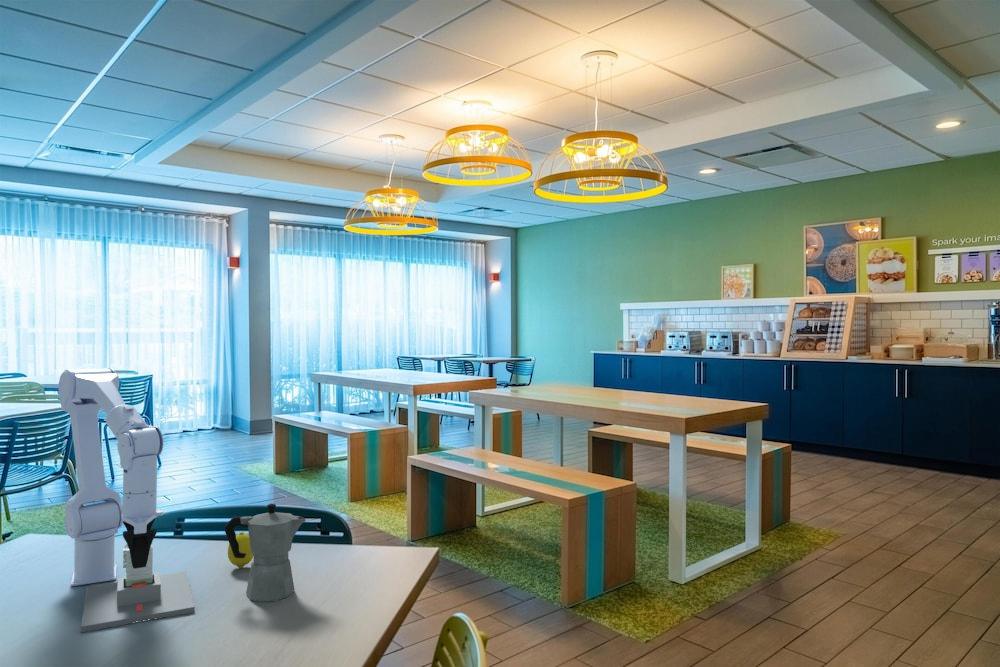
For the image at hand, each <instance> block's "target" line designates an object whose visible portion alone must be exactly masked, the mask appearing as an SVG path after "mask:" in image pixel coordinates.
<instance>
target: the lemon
mask: <svg viewBox="0 0 1000 667" xmlns="http://www.w3.org/2000/svg"><path fill="white" fill-rule="evenodd" d="M236 540H237V542H238V544H239V552H240V553H246V556H245V558H235V557H234V555H233V552H232V549H231V546H230V544H229V543H228V548H227V557H228V560H229V561H230V563H231V564H232V565H234V566H236V567H238V568H239V569H243V568H244V567H245V566H246V565H248V564H249V563H250V562H252V560H253V559H254V555H253V554H252V552H251V546H250V539H249V533H246V532H243V531H240V532H239V533H238V534H236Z"/></svg>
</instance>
